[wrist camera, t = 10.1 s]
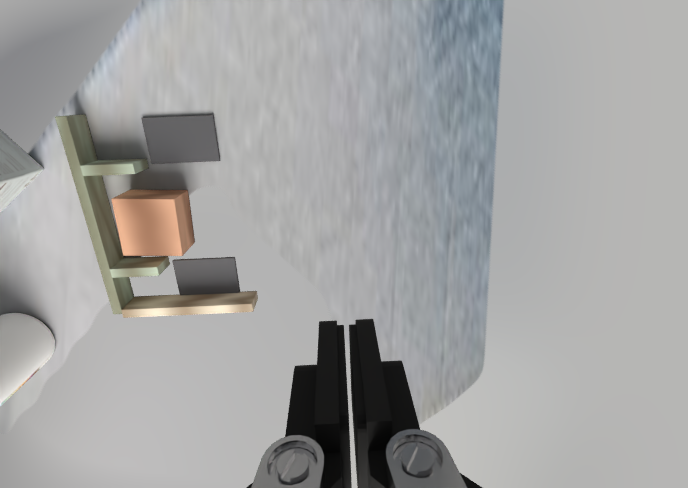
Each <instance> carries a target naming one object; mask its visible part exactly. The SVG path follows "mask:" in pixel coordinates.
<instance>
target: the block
mask: <svg viewBox="0 0 688 488" xmlns="http://www.w3.org/2000/svg"><path fill="white" fill-rule="evenodd" d="M112 203H113V208H114V213H115V218H116V223H117V227H118V232H119V237H120V242H121V247H122V252H123V256H183V255H184V254H185V252H186V251H187V250H188V249H189V248H190V247H191V246H192V245H193V244H194V242H195V238H194V230H193V222H192V215H191V207H190V200H189V196H188V190H129V191H127V192H125V193H123V194H120V195H118V196H116V197H114V198H112Z"/></svg>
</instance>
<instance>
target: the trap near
mask: <svg viewBox="0 0 688 488" xmlns="http://www.w3.org/2000/svg"><path fill="white" fill-rule="evenodd" d="M142 123H143V127H144V132H145V136H146V141H147V146H148V150H149V155H150V159H151V164H155V163H180V162H206V161H220V156H219V149H218V142H217V136H216V129H215V123H214V116H213V115H203V116H176V117H149V118H142Z"/></svg>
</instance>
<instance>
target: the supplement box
mask: <svg viewBox="0 0 688 488" xmlns="http://www.w3.org/2000/svg"><path fill="white" fill-rule="evenodd" d="M43 170H44V168H43V167H42V166H41V165H40V164H38V163H37V162H36V161H35V160H34V159H33V158H32V157H31V156H29V155H28V154H27V153H26V152H25V151H24V150H23V149H22V148H20V147H19V146H18V145H17V144H16V143H15V142H13V141H12V139H10V138H9V137H8V136H7V135H6V134H5V133H4V132H2V131H1V130H0V212H2V211H4V210H5V208H6V207H7V206H8V205H9V204H10V203H11V202H12V201H13V200H14V199H15V198H16V197H17V196H18V195H19V194H20V193H21V192H22V191H23V190H24V189H25V188H26V187H27V186H28V185H29V184H30V183H31V182H32V181H33V180H34V179H35V178H36V177H37V176H38V175H39V174H40V173H41V172H42V171H43Z"/></svg>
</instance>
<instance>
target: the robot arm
mask: <svg viewBox="0 0 688 488" xmlns="http://www.w3.org/2000/svg"><path fill="white" fill-rule="evenodd" d="M349 336H350V364H351V394H352V411H353V426H354V441H355V455H356V471H357V485H358V488H482V487H480V486H479V485H477V484H476V483H474V482H473V481H471V480H470V479H468V478H467V477H465V476H464V475H462V474H461V473H459V471H458V469H457V467H456V465H455V463H454V461H453V459H452V457H451V455H450V453H449V451H448V449H447V448H446V446H445V445H444V443H443V442H442V441H441V440H440V439H439V438H437V437H436V436H435V435H433V434H431V433H429V432H427V431H424V430H420V428H419V423H418V420H417V416H416V412H415V408H414V405H413V401H412V397H411V393H410V389H409V386H408V382H407V378H406V374H405V370H404V367H403V363H402V361H383V362H381V359H380V353H379V348H378V342H377V337H376V332H375V326H374V321H373V319H363V320H356V325H349ZM317 359H318V360H317V365H303V366H295V369H294V375H293V383H292V390H291V398H290V405H289V413H288V420H287V428H286V435H285V437H284V438H281V439H280V440H278V441H276V442H275V443H273V444H272V445H271V446H270V447H269V448H268V449H267V450H266V452H265V454H264V455H263V457H262V459H261V462H260V465H259V467H258V470H257V473H256V476H255V479H254V482H253V483H252V484H251V485H249V486H248V487H247V488H351V461H350V436H349V414H348V395H347V377H346V359H345V341H344V325H337V321H321V322H319V339H318V358H317Z"/></svg>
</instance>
